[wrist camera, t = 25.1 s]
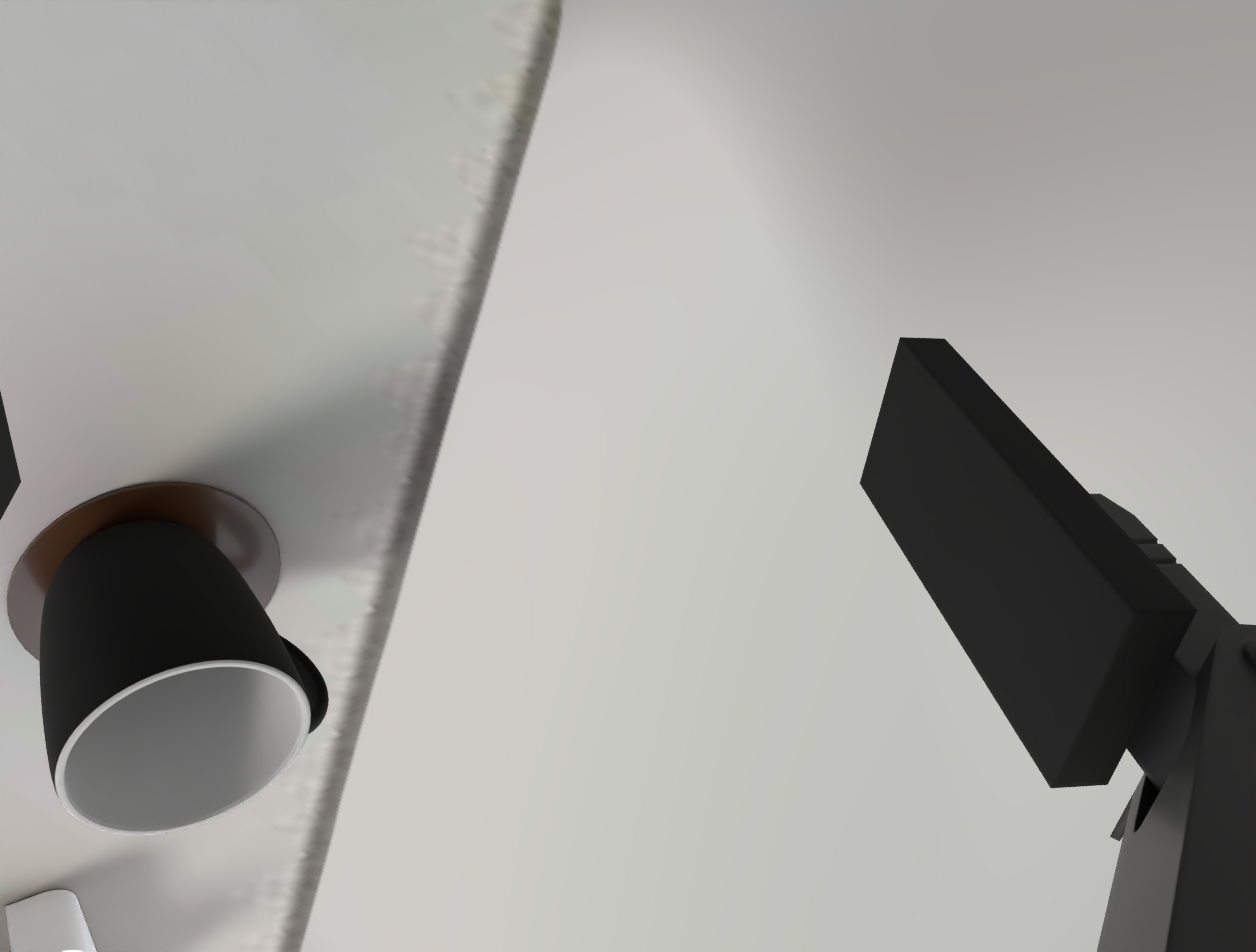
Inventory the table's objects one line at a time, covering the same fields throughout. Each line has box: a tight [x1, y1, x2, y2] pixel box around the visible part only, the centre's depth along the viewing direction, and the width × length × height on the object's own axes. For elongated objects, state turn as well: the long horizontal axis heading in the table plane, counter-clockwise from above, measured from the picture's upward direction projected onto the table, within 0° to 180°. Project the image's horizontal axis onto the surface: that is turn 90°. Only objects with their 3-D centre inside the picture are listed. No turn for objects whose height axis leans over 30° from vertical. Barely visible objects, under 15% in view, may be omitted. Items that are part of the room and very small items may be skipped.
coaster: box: [7, 482, 280, 661], centre depth 47 cm, size 11×11×1 cm
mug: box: [40, 520, 329, 835], centre depth 44 cm, size 12×9×10 cm
